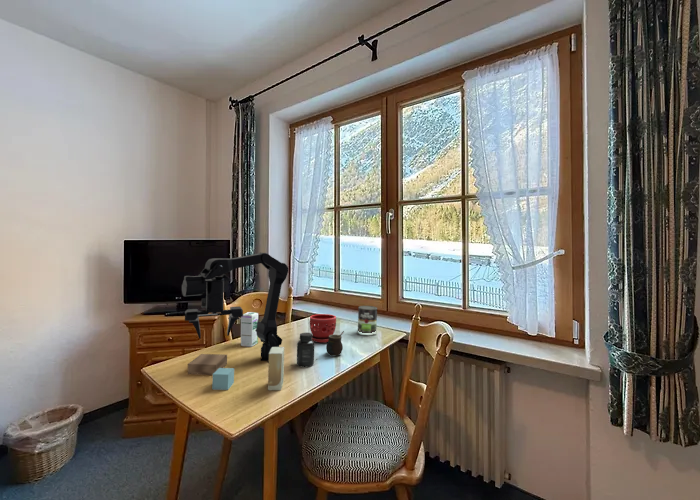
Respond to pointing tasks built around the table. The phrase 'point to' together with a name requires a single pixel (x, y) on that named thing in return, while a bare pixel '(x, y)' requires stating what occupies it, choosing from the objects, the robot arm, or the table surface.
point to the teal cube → (223, 379)
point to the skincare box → (276, 368)
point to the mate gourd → (334, 345)
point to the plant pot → (322, 327)
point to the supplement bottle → (305, 350)
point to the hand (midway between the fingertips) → (214, 337)
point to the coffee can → (367, 319)
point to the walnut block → (207, 364)
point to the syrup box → (249, 329)
